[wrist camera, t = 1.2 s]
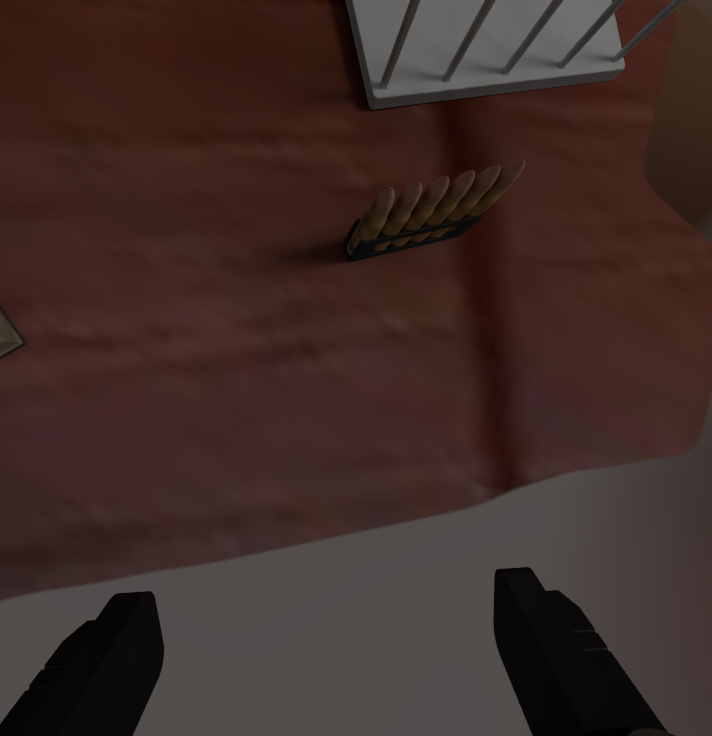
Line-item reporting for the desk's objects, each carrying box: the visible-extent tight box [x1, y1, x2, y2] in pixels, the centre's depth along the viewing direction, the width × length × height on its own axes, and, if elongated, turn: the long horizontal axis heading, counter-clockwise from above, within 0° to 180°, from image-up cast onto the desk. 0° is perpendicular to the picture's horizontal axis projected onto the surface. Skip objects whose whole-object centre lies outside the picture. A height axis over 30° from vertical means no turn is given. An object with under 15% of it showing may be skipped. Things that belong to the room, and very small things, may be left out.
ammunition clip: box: [343, 160, 525, 262], centre depth 31 cm, size 11×2×12 cm, turn 106°
